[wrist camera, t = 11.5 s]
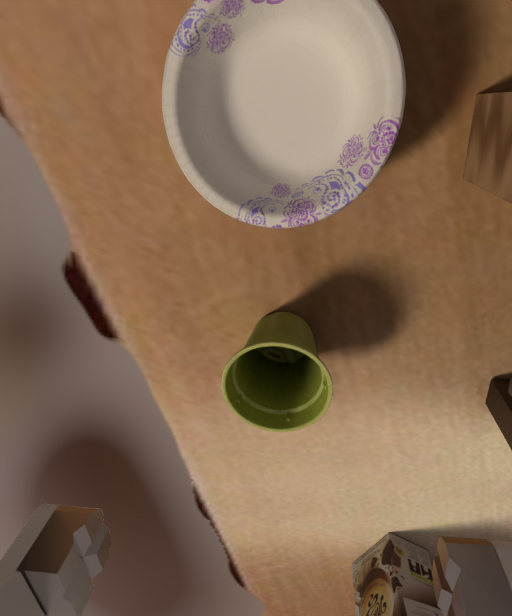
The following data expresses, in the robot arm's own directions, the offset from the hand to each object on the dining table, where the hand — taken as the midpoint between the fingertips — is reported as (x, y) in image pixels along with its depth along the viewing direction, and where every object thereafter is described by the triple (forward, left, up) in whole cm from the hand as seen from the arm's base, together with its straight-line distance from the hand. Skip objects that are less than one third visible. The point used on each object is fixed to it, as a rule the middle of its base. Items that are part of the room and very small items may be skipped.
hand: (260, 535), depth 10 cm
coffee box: (+47, +11, -29) cm, 56 cm away
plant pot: (+12, -2, -29) cm, 32 cm away
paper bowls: (-9, -1, -29) cm, 31 cm away
